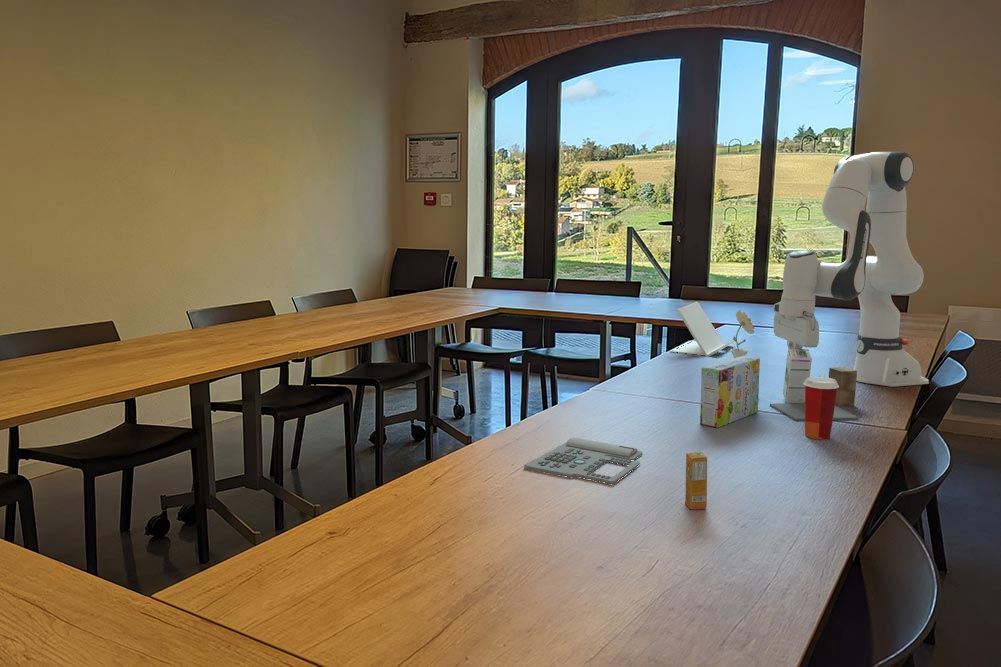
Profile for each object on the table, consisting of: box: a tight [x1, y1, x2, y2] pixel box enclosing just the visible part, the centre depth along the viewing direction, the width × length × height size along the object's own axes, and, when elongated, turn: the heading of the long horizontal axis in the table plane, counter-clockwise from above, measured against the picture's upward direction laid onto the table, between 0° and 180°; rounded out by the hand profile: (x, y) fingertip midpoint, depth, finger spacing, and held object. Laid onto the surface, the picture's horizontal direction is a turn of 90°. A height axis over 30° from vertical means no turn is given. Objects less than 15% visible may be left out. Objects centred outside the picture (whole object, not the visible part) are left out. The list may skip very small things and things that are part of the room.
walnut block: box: [828, 366, 857, 408], centre depth 210 cm, size 5×5×10 cm
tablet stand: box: [669, 301, 735, 357], centre depth 289 cm, size 18×25×17 cm
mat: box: [769, 402, 859, 422], centre depth 202 cm, size 17×15×1 cm
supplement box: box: [684, 451, 708, 510], centre depth 138 cm, size 3×3×10 cm
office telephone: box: [523, 436, 643, 485], centre depth 163 cm, size 23×3×20 cm
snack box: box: [699, 355, 761, 429], centre depth 195 cm, size 21×6×15 cm, turn 135°
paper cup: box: [803, 376, 839, 440], centre depth 180 cm, size 8×8×14 cm
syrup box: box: [782, 348, 813, 403], centre depth 210 cm, size 6×6×14 cm
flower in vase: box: [729, 309, 755, 359], centre depth 217 cm, size 13×11×25 cm
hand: (793, 357), depth 213 cm, fingers closed
